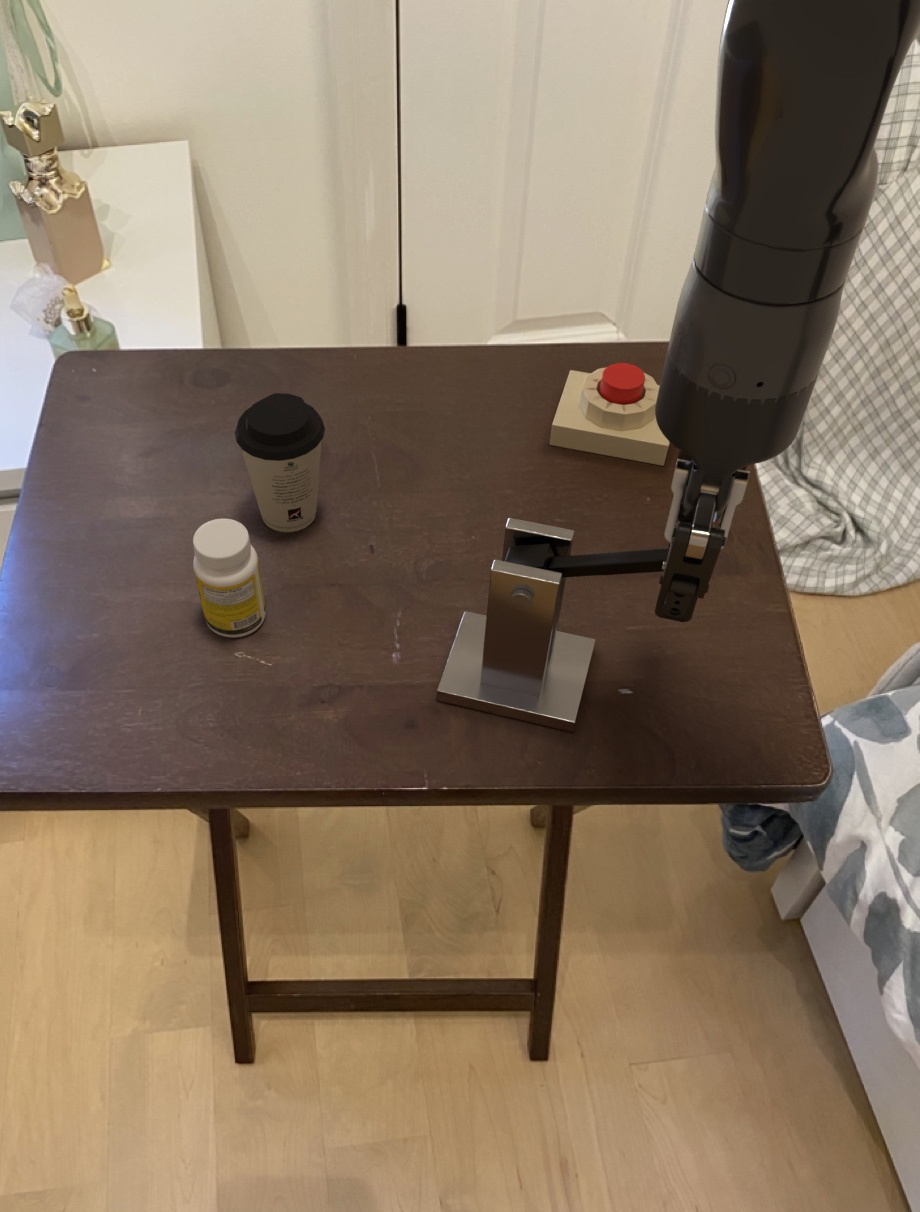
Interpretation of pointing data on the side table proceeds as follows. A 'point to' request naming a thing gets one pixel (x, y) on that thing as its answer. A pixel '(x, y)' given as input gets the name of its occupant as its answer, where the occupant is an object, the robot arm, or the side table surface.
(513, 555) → the lever
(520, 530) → the bracket
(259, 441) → the coffee cup
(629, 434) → the control block
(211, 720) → the side table surface
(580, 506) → the side table surface
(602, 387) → the button
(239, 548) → the supplement bottle
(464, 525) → the side table surface
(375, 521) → the side table surface
